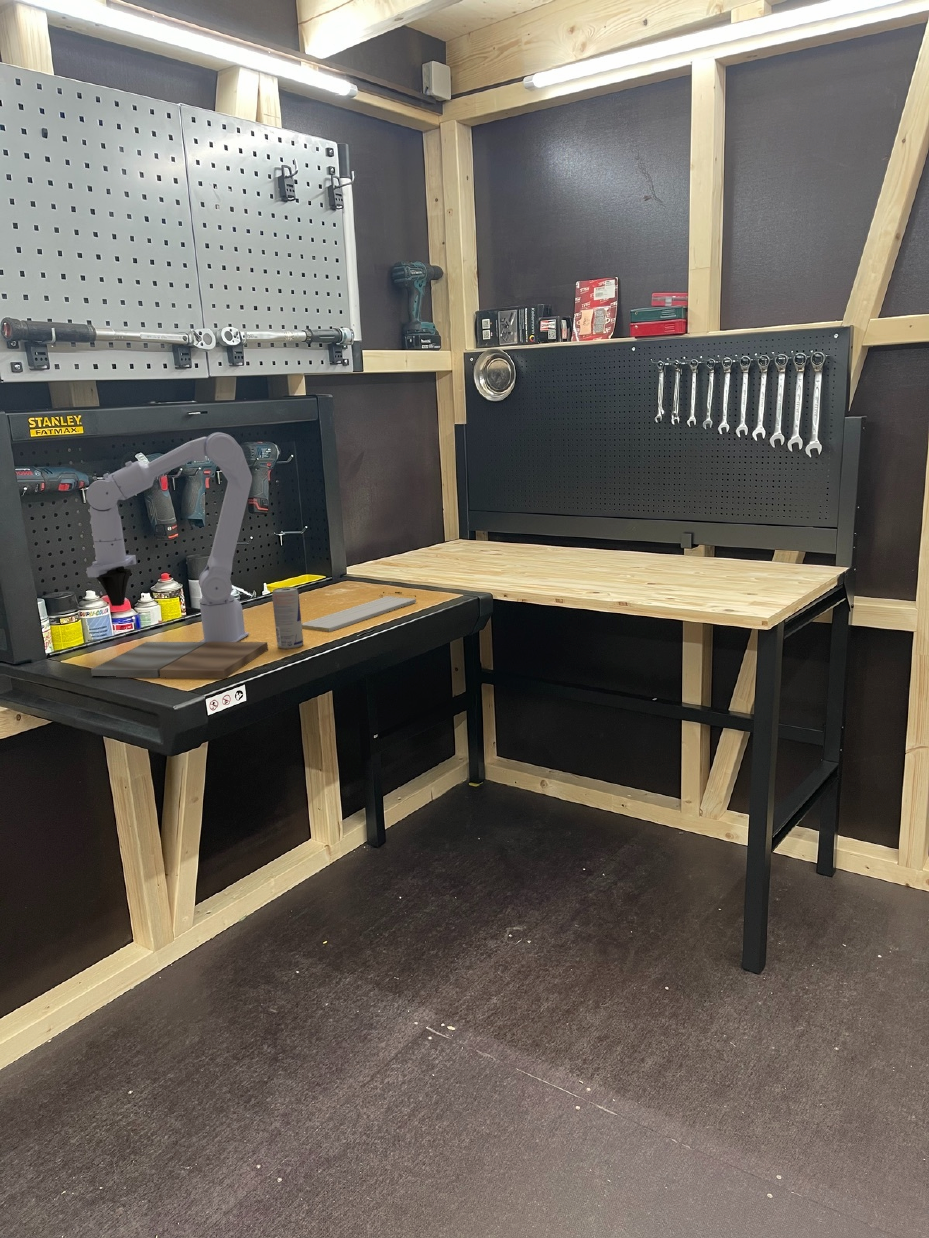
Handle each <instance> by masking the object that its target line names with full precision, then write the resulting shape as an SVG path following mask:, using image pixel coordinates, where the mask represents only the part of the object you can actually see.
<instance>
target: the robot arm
mask: <svg viewBox="0 0 929 1238" xmlns="http://www.w3.org/2000/svg"><path fill="white" fill-rule="evenodd" d="M206 457H207V458H208V459H209V460H210V461H211V462H212V463H213V464H215V465H216V466H217V467H218V468H219V470H220V471H221V473H222V474H223V476H224V478H225V479H226V480H227V485H226V489H225V493H224V497H223V502H222V505H221V510H220V513H219V519H218V523H217V525H216V530H215V535H214V539H213V543H212V546H211V547H212V548H211V551H210V554H209V557H208V560H207V563H206V566H205V568H204V569H203V571H201V572H200V575H199V576H198V586H199V588H200V592H201V595H202V597H201V598H200V599H199V601H198V602H199V607H200V618H201V625H202V634H203V639H202V640H200V641H199V642H207V643H208V642H240V641H241V640H243V639H244V638H246V637H247V636H249V635H250V632H248V631H247V632H246V629H245V621H244V620H245V619H244V612H243V609H244V608H243V607H242V606H243V605H242V603H241V602H240V601H239V600H238V599H237V598H236V597H235V596H234V595H233V594H232V591H233V585H232V581H231V577H232V572H233V561H234V556H235V552H236V548H237V544H238V540H239V536H240V531H241V528H242V527H241V526H242V524H243V520H244V515H245V511H246V506H247V504H248V498H249V495H250V491H251V487H252V483H253V475H252V473H251V470H250V467H249V465H248V463H247V462H248V461H247V460H246V456H245V453H244V450H243V447H241V446H240V444H239V443H238V442H237V440H236V439H235V438H234V437H232V436H231V435H230V434H227V433H224V432H221V431H220V432H219V431H217V432H213V433H211V434H209V435H208V436H202V437H199V438H195V439H194V440H190V441H188V442H186V443H184V444H182V445H180V446H178V447H176V448H175V449H172V450H170V451H168V452H167V453H165V454H163V455H161V456H159V457H157V458H156V459H154V460H152V461H150V462H148V463H146V462H143V461H140V460H137V461H134V462H132V461H131V460H130V461H127V462H125V466H124V467H122V468H121V469H118V470H116V471H114V472H112V473H110V474H109V473H108V472H107V473H104V474H103V476H102V477H103V478H104V479H98V480H95V481H93V482H92V483H91V484H90V485H89V486H88V487H87V490H86V493H85V497H86V501H87V503H88V504H89V505H90V506H89V515H90V525H91V526H90V527H91V532H92V533H91V534H92V540H93V546H94V553H95V561H92V565H90V566H87V567H86V575H87V578H95V579H97V581H98V582H99V584H101V586H102V587H103V589H104V592H106V596H107V597H108V600H109V602H110V604H111V607H120V606H123V605H125V601H126V591H127V586H128V582H129V579H130V576H131V574H132V569H131V568H125V567H129V566H133V565H136V564H137V558H136V554H127V553H126V548H125V547H126V546H125V540H124V532H123V526H122V519H121V515H120V513H119V508H118V501H119V500H121V501H125V500H128V499H129V498H132V497H134V496H135V495H137V494H140V493H142V492H144V491H146V490H148V489H151V488H152V487H153V485H154V482H155V478H157V477H159V476H161V475H163V474H165V473H167V472H170V471H171V470H172V471H173V469H177V468H178V467H181V466H183V465H185V464H187V463H189V462H204V463H205V462H207V460H206Z"/></svg>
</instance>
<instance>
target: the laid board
mask: <svg viewBox="0 0 929 1238" xmlns="http://www.w3.org/2000/svg"><path fill="white" fill-rule="evenodd" d="M268 650H269V647H268V642H267V641H237V642H208V643H206V644H204V645H202V646H201V647H199V648H197V649H195V650H194V651H192V652H190V653H188V654H187V655H185V656H183V657H181V658H179V659H178V660H176V661H174V662H172V663H171V664H169V665H167V666H165V667H163V668H162V669H160V670H159V671H160V677H159V678H160V679H198V678H217V679H216V680H225V679H226V678H228V677H229V676H231V675H232V674H233V673H235V672H236V671H238V670H240V669H241V668H243V667H244V666H245V664H246V665H247V664H248V663H249V664H250V662H252V661H253V660H255V659H257V658H259V656H261V655H262V654H264V653H265V652H267V651H268ZM230 674H231V675H230ZM165 677H166V678H165ZM172 677H173V678H172ZM224 678H225V679H224Z"/></svg>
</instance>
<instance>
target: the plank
mask: <svg viewBox="0 0 929 1238" xmlns="http://www.w3.org/2000/svg"><path fill="white" fill-rule="evenodd" d="M206 643H207V642H200V641H145V642H144V643H141V644H139V645H137V646H135V647H133V648H131V649H129V650H127V651H125V652H122V653H121V654H119V655H117V656H115V657H113V658H111V659H109V660H107V661H105V662H103V663H101V664H99V665H97V666H95V667H93V668H91V669H90V673H91V676H92V675H109V676H116V677H115V678H146V679H148V678H149V679H150V678H154V679H157V678H158V679H159V678H160V671H159V670H160V669H162V668H163V667H165V666H167V665H169V664H171V663H172V662H174V661H176V660H178V659H179V658H181V657H183V656H185V655H187V654H188V653H190V652H192V651H194V650H195V649H197V648H199V647H201V646H202V645H204V644H206Z"/></svg>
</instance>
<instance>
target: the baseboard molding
mask: <svg viewBox="0 0 929 1238" xmlns="http://www.w3.org/2000/svg"><path fill="white" fill-rule="evenodd" d="M382 593H383V594H385V591H383V592H382ZM383 594H380V597H379V598H377V599H374V600H371V601H369V602H365V603H362V604H359V605H355V606H352V607H349V608H347V609H343V610H340V611H337V612H334V613H330V614H327V615H324V616H321V617H318V618H316V619H315V618H314V619H312V620H308V621H305V622H301V623H302V630H309V631H310V630H311V631H317V632H324V633H331V632H334V631H337V630H340V629H343V628H345V627H349V626H351V625H355V624H357V623H361V622H364V621H366V619H367V620H369V619H372V617H373V618H375V617H374V616H376V617H378V616H381V615H384V614H387V613H390V612H392V610H393V611H395V610H394V609H396V610H399V609H402V608H404V607H403V606H405V607H408V606H410V604H411V605H414V604H416V603H417V599H416V598H417V595H414V598H412V595H410V594H409V595H408V594H407V596H411V598H407V597H401V596H402V595H403V594H402V592H401V591H398V592H397V591H395V592H394V594H398V595H401V596H397V597H396V596H390V595H391V594H392V595H393V593H391V592H389V594H390V595H386V596H383ZM415 602H416V603H415ZM413 603H414V604H413ZM407 605H408V606H407ZM401 607H402V608H401ZM398 608H399V609H398ZM389 611H390V612H389ZM383 613H384V614H383ZM380 614H381V615H380ZM363 620H364V621H363Z"/></svg>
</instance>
